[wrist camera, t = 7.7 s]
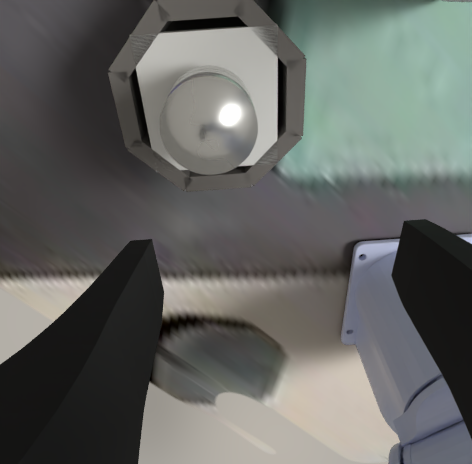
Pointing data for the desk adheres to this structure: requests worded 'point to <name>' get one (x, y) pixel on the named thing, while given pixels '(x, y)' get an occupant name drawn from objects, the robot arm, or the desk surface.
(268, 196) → the desk surface
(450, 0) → the skincare box
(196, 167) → the plunger
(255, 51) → the press
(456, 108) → the desk surface
